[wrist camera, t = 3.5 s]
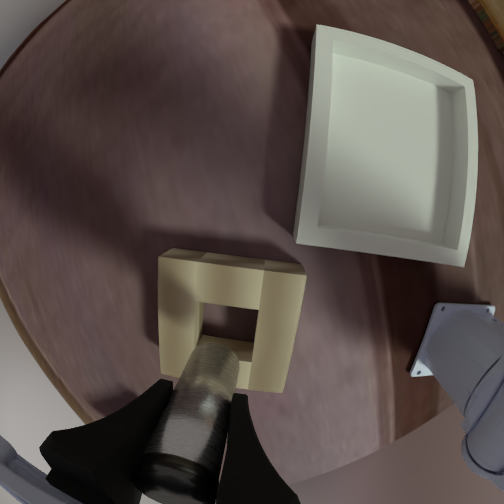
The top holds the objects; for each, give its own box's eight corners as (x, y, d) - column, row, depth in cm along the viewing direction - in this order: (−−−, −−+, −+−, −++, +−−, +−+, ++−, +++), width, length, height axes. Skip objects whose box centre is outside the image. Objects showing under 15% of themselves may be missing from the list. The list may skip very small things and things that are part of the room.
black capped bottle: (243, 346, 15) (215, 487, 6) (238, 387, 16) (214, 515, 7) (189, 337, 15) (122, 462, 6) (189, 378, 16) (139, 497, 7)
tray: (455, 88, 16) (473, 80, 13) (445, 258, 20) (464, 267, 17) (311, 42, 17) (316, 24, 14) (292, 236, 20) (296, 243, 17)
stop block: (301, 263, 21) (306, 275, 18) (281, 371, 23) (282, 392, 20) (172, 247, 21) (158, 256, 18) (171, 354, 23) (161, 373, 20)
